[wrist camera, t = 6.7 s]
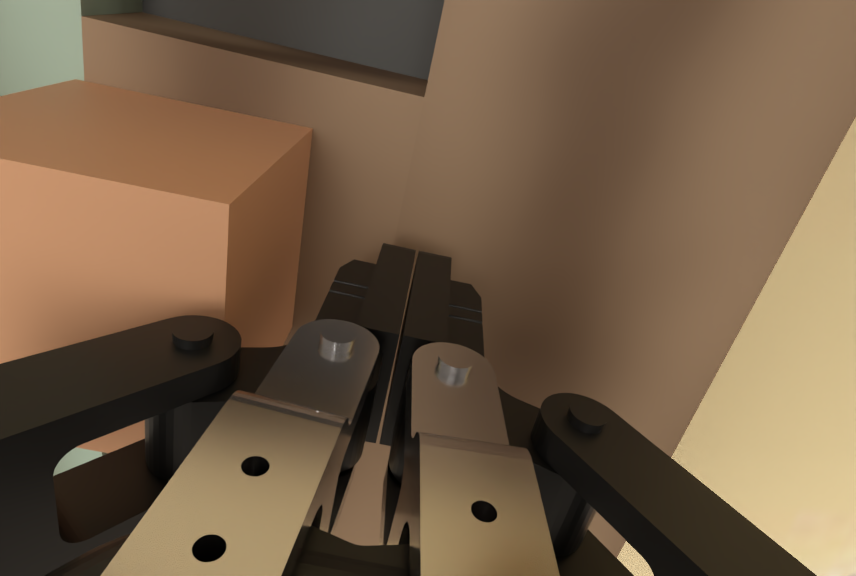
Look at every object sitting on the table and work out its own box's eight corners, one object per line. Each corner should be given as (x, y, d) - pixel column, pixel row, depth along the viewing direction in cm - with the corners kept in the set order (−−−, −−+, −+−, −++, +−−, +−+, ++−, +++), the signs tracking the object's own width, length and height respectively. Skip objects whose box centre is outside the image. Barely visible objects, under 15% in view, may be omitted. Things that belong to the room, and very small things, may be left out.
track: (898, -148, 12) (1236, -258, 7) (580, 517, 21) (619, 695, 16) (-189, -440, 11) (-791, -840, 6) (-39, 391, 20) (-221, 536, 15)
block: (312, 128, 12) (229, 204, 8) (291, 327, 15) (218, 473, 10) (75, 79, 12) (-147, 129, 8) (91, 288, 15) (-74, 420, 10)
